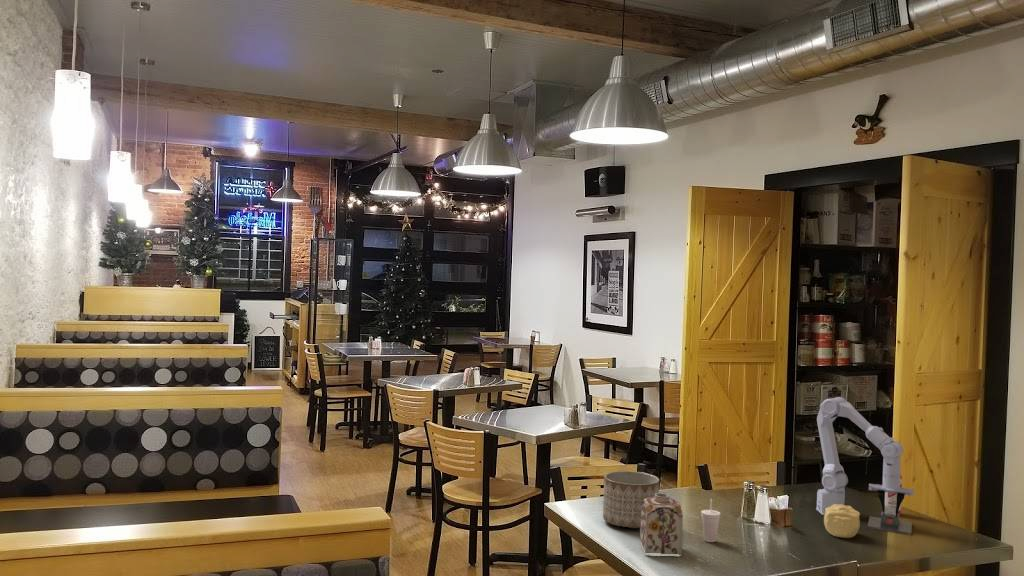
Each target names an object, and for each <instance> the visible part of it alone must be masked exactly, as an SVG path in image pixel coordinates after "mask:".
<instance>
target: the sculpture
mask: <svg viewBox="0 0 1024 576" xmlns="http://www.w3.org/2000/svg"><path fill="white" fill-rule="evenodd" d="M825 512H826V513H825V515H823V524H824V527H825V530H826V531H827V532H828V534H830V535H831V536H833V537H837V538H843V539H852V538H853V537H855V536H856V535H857V534H858V532H859V529H860V525H861V519H860V515H861V513H860V512H859V511H858V510H856V509H855V508H853V507H852V506H851V505H845V504H844V505H843V504H841V505H837V504H833V505H832V506H830V507H828V508H826V509H825Z"/></svg>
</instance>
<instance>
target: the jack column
mask: <svg viewBox="0 0 1024 576" xmlns="http://www.w3.org/2000/svg"><path fill="white" fill-rule="evenodd" d="M884 515H889V516H895V517H896V506H890V505H885V514H884Z"/></svg>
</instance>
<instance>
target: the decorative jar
mask: <svg viewBox="0 0 1024 576" xmlns="http://www.w3.org/2000/svg"><path fill="white" fill-rule="evenodd" d="M683 515H684V514H683V509H682V506H681V503H680V501H679V500H677V499H674V498H671V497H670V495H669V494H667V493H664V492H659V493H656V494H655V497H649V498H646V499H644V500H643V502H642V504H641V526H640V528H639V535H640V536H639V542H640V541H641V543H642V546H643V548H644V550H645V553H661V554H679V555H683V518H684V516H683Z"/></svg>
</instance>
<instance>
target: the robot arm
mask: <svg viewBox="0 0 1024 576" xmlns="http://www.w3.org/2000/svg"><path fill="white" fill-rule="evenodd" d="M838 417H843V418H847V419H849V420H850V421H851V422H852V423H854V424H855V425H856V426H858V428H860V429H861V431H864V432H865V437H866V438H867V439H868V441H870V442H871V443H872V444H873V445H874V446H875V447H876V448H878V449H879V450H880V453H881V455H882V457H883V460H882V461H883V462H882V484H878V483H877V484H876V483H875V484H874V483H869V484H868V491H876V492H877V493H876V494H877V497H878V498H879V499H878V500H879V501H880V502H879V503H880V504H881V507H882V508H881V509H882V510H881V511H883V512H885V492H890V493H897V505H896V514H898V510H899V507H900V505H901V506H902V502H903V500H904V499H905V495H906V496H910V497H914V493H915V492H914V491H915V490H914V489H910V488H905V487H902V488H901V487H900V473H901V465H902V464H901V463H902V460H901V459H902V457H901V456H902V455H903V454H904V447H903V445H902V444H901V443H900V442H899V441H897V440H894V438H893V437H890V436H889V435H888V434H887V433H886V432H885V431H884V429H883V427H879V426H877V425H872V424H871V423H870V422H869V421H867V419H866V418H865V417H864V416H863V415H862V414H861V413H860V412H858V411H857V410H856V408H855V407H854V406H853V405H852V404H851V402H849V401H847V400H846V399H845V398H844V397H843V396H836V397H833V398H832V397H831V398H826V399H824V400H823V401H822V402H821V403H820V405H819V411H818V413H817V416H816V422H817V423H816V424H817V428H818V434H819V441H820V445H821V451H822V457H823V462H824V463H823V464H824V467H823V469H822V477H821V483H822V486H823V488H822V489H821V488H820V489H817V492H816V508H815V510H816V511H817V512H818V513H820V514H821V515H822V516H825V513H826V512H825V509H826V508H828V507H830V506H832V505H833V504H837V505H841V504H843V505H845V497H846V495H845V494H846V489H845V487H846V486H847V485H848V483H849V479H848V476H847V474H846V473H845V470H844V467H843V465H841V464H840V459H839V458H840V457H839V453H838V448H837V443H836V437H835V432H834V425H833V422H834V421H836V418H838Z"/></svg>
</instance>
